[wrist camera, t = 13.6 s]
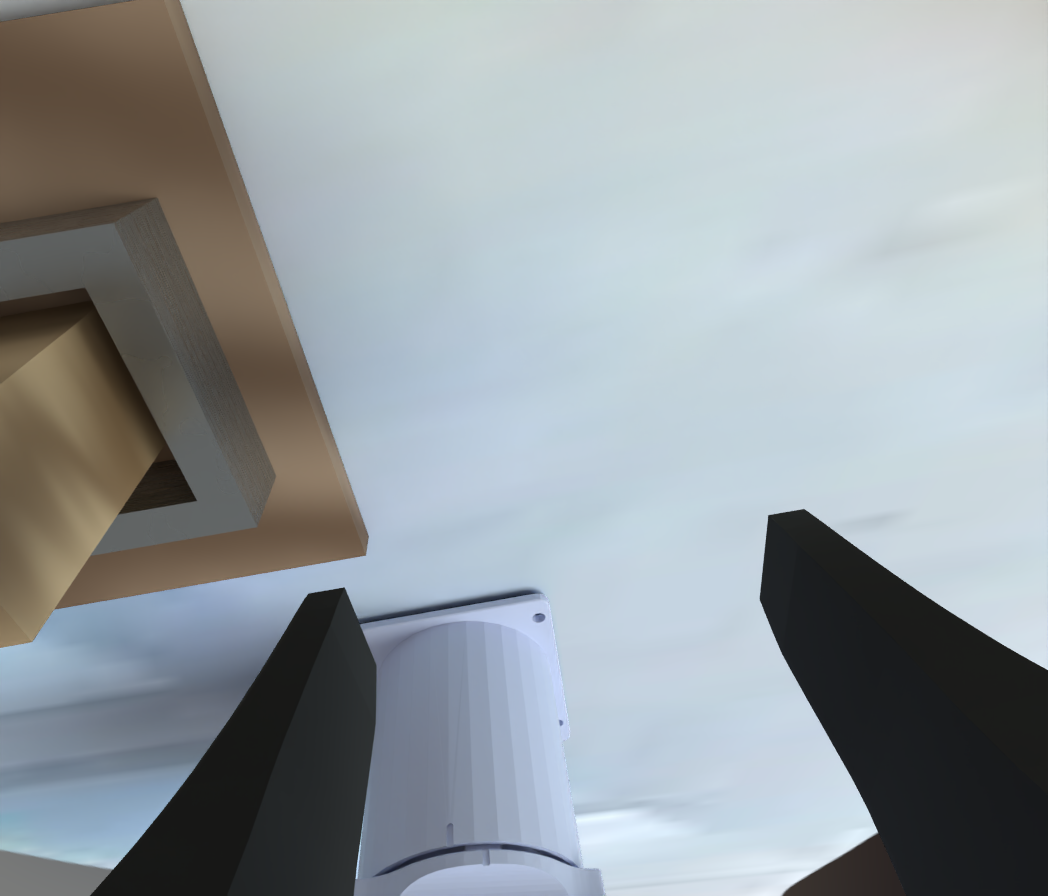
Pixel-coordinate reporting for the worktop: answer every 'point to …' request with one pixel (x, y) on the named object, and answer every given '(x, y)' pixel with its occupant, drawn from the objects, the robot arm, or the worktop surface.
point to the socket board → (166, 298)
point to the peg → (62, 455)
